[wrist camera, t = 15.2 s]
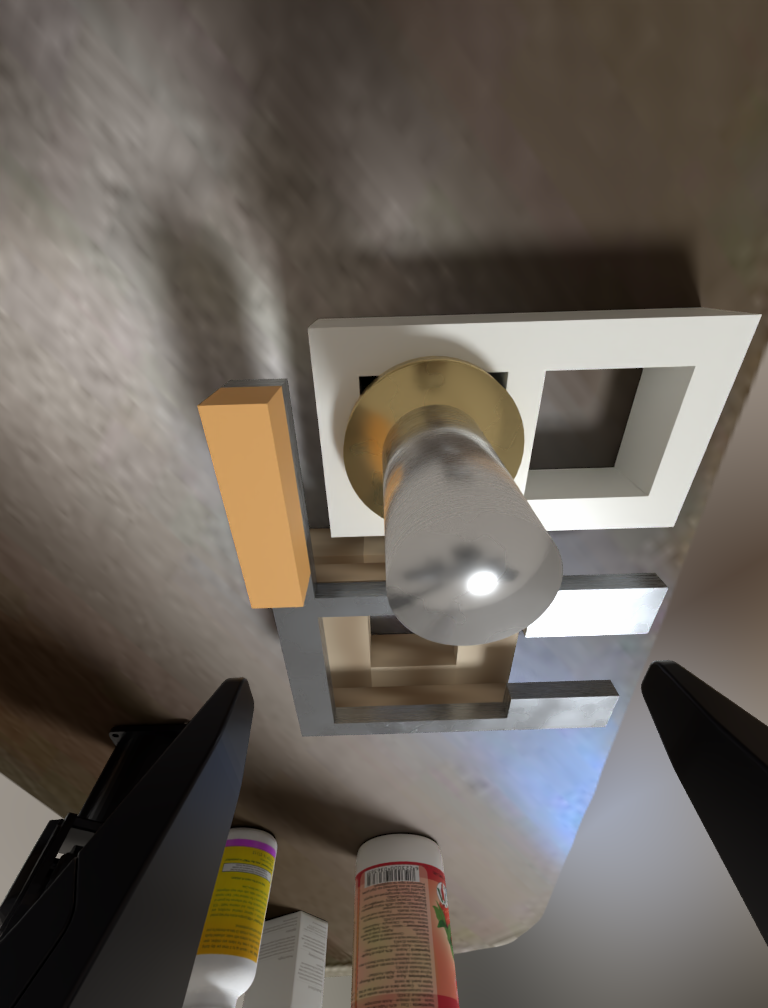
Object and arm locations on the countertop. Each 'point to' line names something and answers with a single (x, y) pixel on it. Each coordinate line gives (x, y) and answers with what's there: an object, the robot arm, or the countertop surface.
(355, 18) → the countertop surface
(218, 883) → the supplement bottle
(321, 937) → the skincare box
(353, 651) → the socket block
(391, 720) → the key plate
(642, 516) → the white hollow block
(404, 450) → the flanged silver cylinder
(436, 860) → the fruit juice
